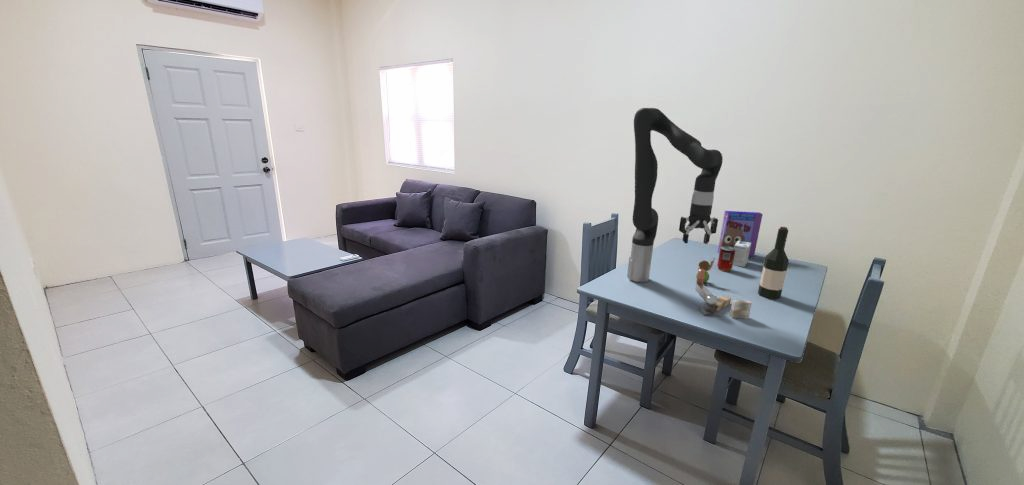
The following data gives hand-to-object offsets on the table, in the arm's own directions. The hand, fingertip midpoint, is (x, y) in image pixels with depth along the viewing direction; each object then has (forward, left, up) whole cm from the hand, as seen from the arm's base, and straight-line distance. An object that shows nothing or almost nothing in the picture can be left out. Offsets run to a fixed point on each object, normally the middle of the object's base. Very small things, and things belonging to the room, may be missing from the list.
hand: (695, 243), depth 163 cm
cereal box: (+47, +65, -24) cm, 84 cm away
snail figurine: (+13, +19, -24) cm, 34 cm away
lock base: (+9, -9, -24) cm, 27 cm away
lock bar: (+4, -6, -20) cm, 22 cm away
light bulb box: (+42, +49, -24) cm, 70 cm away
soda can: (+30, +38, -24) cm, 55 cm away
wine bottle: (+36, +7, -24) cm, 44 cm away
